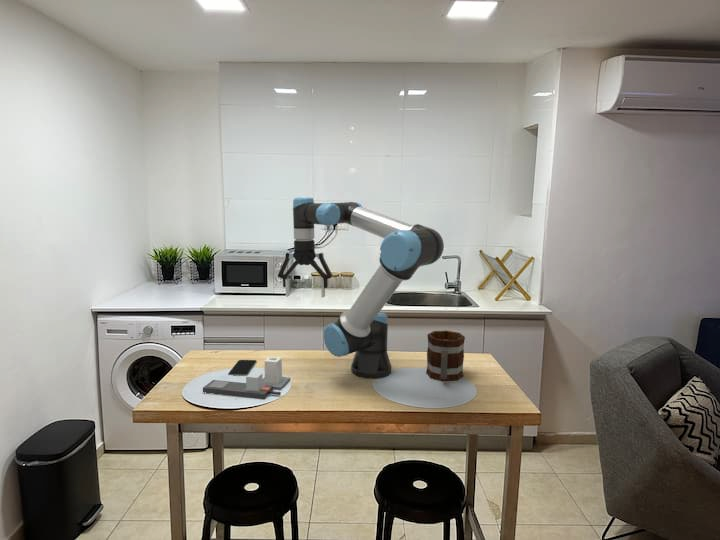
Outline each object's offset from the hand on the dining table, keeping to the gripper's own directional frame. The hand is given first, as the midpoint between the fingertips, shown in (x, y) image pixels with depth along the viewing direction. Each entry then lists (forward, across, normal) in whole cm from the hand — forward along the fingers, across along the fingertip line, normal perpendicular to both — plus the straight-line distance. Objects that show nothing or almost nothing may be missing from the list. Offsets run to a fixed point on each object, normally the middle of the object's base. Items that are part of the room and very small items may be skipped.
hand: (305, 296), depth 186 cm
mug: (+29, -52, +3) cm, 59 cm away
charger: (+27, +8, +18) cm, 33 cm away
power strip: (+28, +16, +26) cm, 41 cm away
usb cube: (+26, +12, +27) cm, 39 cm away
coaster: (+28, +8, +18) cm, 34 cm away
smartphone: (+28, +24, +5) cm, 37 cm away
